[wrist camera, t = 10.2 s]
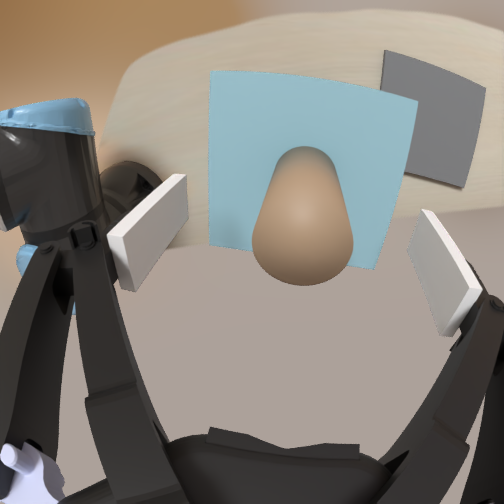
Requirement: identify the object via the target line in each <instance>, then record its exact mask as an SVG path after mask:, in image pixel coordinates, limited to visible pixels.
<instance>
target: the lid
mask: <svg viewBox="0 0 504 504" xmlns="http://www.w3.org/2000/svg"><path fill="white" fill-rule="evenodd" d="M417 107H418V101H416V100H412V99H409V98H406V97H402V96H399V95H395V94H392V93H388V92H384V91H380V90H376V89H372V88H367V87H363V86H358V85H354V84H349V83H343V82H338V81H332V80H326V79H320V78H313V77H306V76H298V75H289V74H278V73H266V72H249V71H210V98H209V160H208V177H209V242H210V245H212V246H219V247H226V248H233V249H239V250H246V251H252V252H254V256H255V258H256V260H257V261H258V263H259V264H260V266H261V267H262V268H263V269H264V270H265V271H266V272H267V273H268V274H270V275H271V276H272V277H274V278H276V279H278V280H280V281H282V282H285V283H288V284H293V285H300V286H307V285H315V284H320V283H323V282H325V281H328V280H330V279H332V278H333V277H335V276H336V275H338V274H339V273H340V272H341V271H342V270H343V269H344V268H345V266H353V267H360V268H366V269H373V270H374V268H375V265H376V263H377V260H378V257H379V254H380V251H381V248H382V245H383V242H384V239H385V236H386V233H387V230H388V227H389V223H390V221H391V217H392V214H393V211H394V207H395V204H396V200H397V197H398V193H399V190H400V186H401V182H402V178H403V174H404V170H405V166H406V162H407V158H408V153H409V149H410V144H411V139H412V135H413V130H414V124H415V119H416V113H417Z"/></svg>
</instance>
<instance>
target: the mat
mask: <svg viewBox="0 0 504 504" xmlns="http://www.w3.org/2000/svg"><path fill="white" fill-rule="evenodd" d="M380 91H384V92H388V93H392V94H395V95H399V96H402V97H406V98H409V99H412V100H416V101H418V107H417V113H416V119H415V124H414V130H413V135H412V139H411V144H410V149H409V153H408V158H407V162H406V166H405V170H404V171H405V172H409V173H413V174H417V175H421V176H424V177H428V178H432V179H435V180H439V181H442V182H446V183H449V184H453V185H456V186H459V187H462V188H464V186H465V183H466V180H467V176H468V173H469V169H470V166H471V162H472V158H473V154H474V150H475V146H476V142H477V137H478V133H479V128H480V123H481V117H482V112H483V106H484V99H485V92H486V88H485V87H483V86H481V85H479V84H477V83H475V82H472V81H470V80H468V79H466V78H464V77H461V76H459V75H457V74H455V73H452V72H450V71H447V70H445V69H442V68H440V67H437V66H434V65H432V64H429V63H426V62H423V61H420V60H418V59H415V58H411V57H408V56H405V55H402V54H398V53H395V52H391V51H388V50H384V59H383V68H382V77H381V86H380Z"/></svg>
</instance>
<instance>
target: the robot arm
mask: <svg viewBox="0 0 504 504" xmlns="http://www.w3.org/2000/svg"><path fill="white" fill-rule="evenodd" d="M94 136H95V131H93V126H92V120H91V113H90V107H89V105H88V103H87V102H86V101H84V100H83V99H79V98H67V99H58V100H51V101H44V102H39V103H33V104H29V105H24V106H20V107H16V108H12V109H8V110H4V111H0V230H2V231H4V232H7V231H9V230H11V229H13V228H14V227H16V226H20V229H21V232H22V234H23V237H24V240H25V245H23V246H21V247H20V249H19V251H18V253H17V256H16V259H17V260H16V263H17V267H18V269H19V272H20V274H21V276H22V279H21V281H20V283H19V286H18V288H17V291H16V293H15V295H14V298H13V300H12V303H11V305H10V308H9V310H8V313H7V316H6V319H5V321H4V324H3V327H2V330H1V333H0V502H3V503H5V504H439V503H440V502H441V500H442V499H443V497H444V496H445V494H446V493H447V491H448V489H449V488H450V486H451V484H452V483H453V481H454V479H455V477H456V476H457V474H458V472H459V470H460V468H461V467H462V464H463V463H464V460H465V459H466V457H467V454H468V452H469V449H470V447H469V444H467V443H466V442H465V441H466V439H467V436H468V434H469V432H470V430H471V428H472V425H473V423H474V421H475V419H476V416H477V414H478V411H479V408H480V406H481V404H482V401H483V399H484V396H485V402H484V409H483V415H482V422H481V427H480V432H479V437H478V441H477V446H476V450H475V454H474V458H473V462H472V465H471V469H470V473H469V476H468V479H467V482H466V485H465V488H464V491H463V495H462V498H461V502H460V504H504V303H503V302H502V301H501V300H500V299H499V298H497V297H495V296H493V295H489V294H488V292H487V291H486V289H485V287H484V285H483V283H482V281H481V280H480V279H479V276H478V275H477V274H476V271H475V270H474V268H473V267H472V265H471V264H470V263H469V262H468V261H467V260H466V259H465V258H464V257H463V255H462V254H461V252H460V251H459V249H458V247H457V246H456V244H455V243H454V241H453V240H452V238H451V237H450V236H449V234H448V233H447V231H446V230H445V228H444V227H443V225H442V224H441V223H440V221H439V220H438V219H437V217H436V216H435V214H434V213H433V212H432V211H428V210H424V209H421V211H420V214H419V218H418V220H417V223H416V226H415V230H414V232H413V235H412V238H411V241H410V243H409V246H408V248H407V252H408V254H409V256H410V258H411V261H412V263H413V265H414V268H415V270H416V273H417V275H418V278H419V280H420V283H421V285H422V288H423V290H424V293H425V296H426V298H427V301H428V304H429V307H430V309H431V312H432V315H433V318H434V321H435V324H436V327H437V330H438V333H439V336H446V337H447V336H448V337H453V335H454V334H455V332H456V331H457V329H458V328H460V330H461V333H462V334H461V335H460V337H459V338H458V339H457V341H456V342H455V344H454V345H453V346H452V347H451V349H450V351H452V352H451V354H450V356H449V358H448V360H447V362H446V364H445V365H444V367H443V369H442V371H441V373H440V375H439V377H438V378H437V380H436V382H435V383H434V385H433V387H432V389H431V390H430V392H429V394H428V395H427V397H426V398H425V400H424V402H423V403H422V405H421V406H420V408H419V409H418V411H417V412H416V414H415V415H414V417H413V418H412V420H411V421H410V423H409V424H408V426H407V427H406V428H405V430H404V431H403V432H402V434H401V435H400V437H399V438H398V439H397V441H396V442H395V443H394V445H393V446H392V447H391V448H390V450H389V451H388V452H387V453H386V454H385V455H384V456H383V457H382V458H380V459H379V460H378V461H377V460H376V459H374V458H372V457H370V456H368V455H365V454H363V453H359V446H360V445H359V444H329V443H323V444H318V445H311V446H306V447H298V448H290V449H284V448H281V447H278V446H275V445H273V444H270V443H268V442H265V441H262V440H260V439H258V438H255V437H253V436H250V435H248V434H243V433H238V432H233V431H228V430H223V429H218V428H214V427H210V429H209V432H208V434H201V435H191V436H187V437H183V438H180V439H176V440H174V441H172V442H169V439H168V437H167V435H166V433H165V431H164V430H163V427H162V426H161V424H160V421H159V419H158V417H157V415H156V412H155V410H154V408H153V405H152V403H151V400H150V398H149V395H148V392H147V390H146V387H145V385H144V382H143V379H142V377H141V374H140V371H139V368H138V365H137V362H136V360H135V357H134V354H133V351H132V347H131V345H130V341H129V338H128V335H127V332H126V328H125V325H124V321H123V318H122V314H121V310H120V307H119V303H118V299H117V295H116V291H115V288H114V285H113V284H114V283H115V282H116V280H117V279H118V280H119V283H120V287H121V289H124V290H128V291H132V292H136V291H137V289H138V288H139V287H140V285H141V284H142V282H143V281H144V279H145V278H146V276H147V275H148V273H149V272H150V271H151V269H152V268H153V266H154V265H155V263H156V262H157V261H158V259H159V258H160V256H161V255H162V254H163V252H164V251H165V249H166V248H167V247H168V245H169V244H170V242H171V241H172V240H173V238H174V237H175V236H176V234H177V233H178V232H179V230H180V229H181V228H182V226H183V225H184V224H185V222H186V221H187V220H188V200H187V179H186V174H173V175H172V176H170V177H169V178H168V179H167V180H166V181H164V182H162V181H161V180H160V178H159V177H158V176H157V175H156V174H155V173H154V172H153V171H151V170H150V169H149V168H147V167H145V166H143V165H141V164H139V163H135V162H129V161H124V162H119V163H116V164H114V165H112V166H110V167H109V168H107V169H106V170H104V171H103V172H102V173H101V174H100V175H99V169H98V162H97V156H96V148H95V141H94V140H95V139H94ZM72 315H76V320H77V328H78V336H79V343H80V350H81V357H82V362H83V368H84V373H85V378H86V383H87V388H88V393H89V395H88V397H86V398H85V408H86V412H87V416H88V420H89V424H90V428H91V431H92V435H93V438H94V442H95V445H96V448H97V451H98V454H99V457H100V461H101V463H102V466H103V469H104V472H105V475H106V477H107V478H106V479H103V480H101V481H100V482H98V483H96V484H93V485H91V486H89V487H87V488H85V489H83V490H81V491H79V492H76V493H74V494H72V495H70V496H67V497H65V495H64V494H63V491H62V487H63V486H64V483H65V482H64V477H63V476H62V474H61V472H60V469H59V467H58V465H57V464H56V457H57V449H58V437H59V436H58V435H59V408H60V395H61V383H62V373H63V365H64V357H65V351H66V344H67V338H68V332H69V326H70V321H71V316H72ZM485 393H486V394H485Z"/></svg>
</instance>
